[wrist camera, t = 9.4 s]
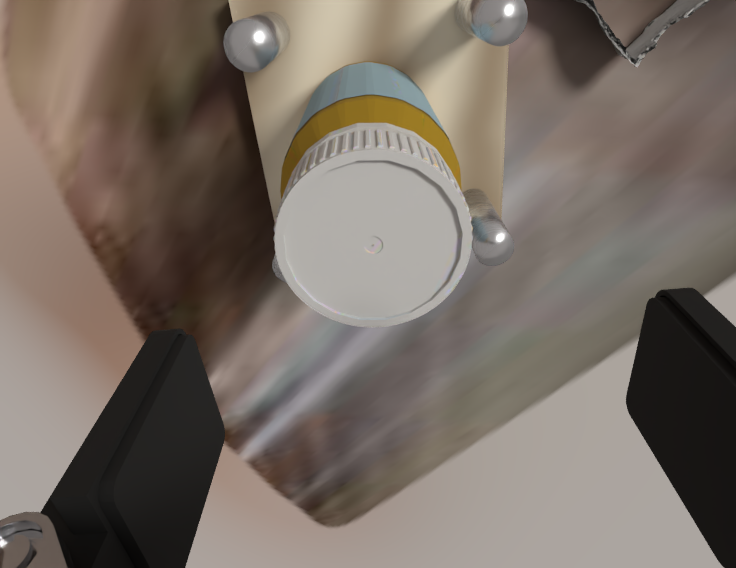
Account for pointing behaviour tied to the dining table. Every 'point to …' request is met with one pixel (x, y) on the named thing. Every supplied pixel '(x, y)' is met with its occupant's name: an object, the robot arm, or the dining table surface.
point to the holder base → (393, 47)
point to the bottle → (371, 201)
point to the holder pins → (474, 16)
